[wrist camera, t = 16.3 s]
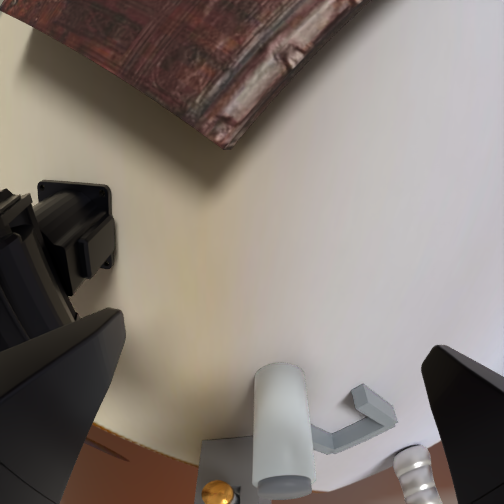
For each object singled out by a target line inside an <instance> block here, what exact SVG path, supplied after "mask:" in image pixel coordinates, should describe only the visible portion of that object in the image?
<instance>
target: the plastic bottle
mask: <svg viewBox="0 0 504 504" xmlns="http://www.w3.org/2000/svg"><path fill="white" fill-rule="evenodd" d="M393 468H394V471H395V473H396V475H397V477H398V478H399V481H400V484H401V487H402V490H403V493H404V498H405V504H443V503H442V502H441V499H440V497H439V495H438V492H437V489H436V487H435V483H434V479H433V474H432V469H431V458H430V453H429V452H428V450H427V448H426V447H424V446H422V445H418V446H413V447H410V448H408V449H405V450H403V451H401V452H400V453H398V454H397V455H396V456H395V458H394V460H393Z"/></svg>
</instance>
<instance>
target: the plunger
mask: <svg viewBox="0 0 504 504" xmlns="http://www.w3.org/2000/svg"><path fill="white" fill-rule="evenodd" d="M201 496H202V500H203V501H204V503H205V504H240V495H239V494H237V493H235V492H234V490H233V488H232V487H231V486H230V485H229V484H227V483H226V482H224V481H221V480H214V481H211V482H209V483H208V484H206V485H205V486H204V488H203V490H202V493H201Z"/></svg>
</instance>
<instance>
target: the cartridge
mask: <svg viewBox="0 0 504 504" xmlns="http://www.w3.org/2000/svg"><path fill="white" fill-rule="evenodd" d="M315 481H316V472H315V462H314V452H313V443H312V433H311V424H310V416H309V407H308V399H307V391H306V383H305V375H304V372H303V370H302V369H301V368H300V367H298V366H296V365H294V364H290V363H273V364H269V365H266V366H264V367H262V368H261V369H260V370H258V372H257V373H256V375H255V383H254V431H253V475H252V484H253V485H254V486H255V487H257V488H258V496H259V497H261V498H265V499H273V500H286V499H295V498H299V497H303V496H306V495H308V494H310V493H311V492H312V488H311V484H313V483H314V482H315Z"/></svg>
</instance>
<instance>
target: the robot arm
mask: <svg viewBox="0 0 504 504" xmlns="http://www.w3.org/2000/svg"><path fill="white" fill-rule="evenodd" d="M43 186H44V188H43ZM37 189H38V200H39V203H38V204H36V205H35V206H33V207H32V204H31V203H32V198H31V195H30V193H28V194H25V195H22V196H21V195H20V194H19V195H16V196H15V194H14V195H13V194H12V193H11V192H10V191H9V190H8V189H7V188H6V189H3V190H1V191H0V504H59V503H60V501H61V498H62V495H63V493H64V490H65V488H66V485H67V482H68V480H69V477H70V475H71V472H72V470H73V467H74V465H75V462H76V460H77V458H78V455H79V453H80V450H81V448H82V446H83V443H84V441H85V439H86V436H87V434H88V432H89V430H90V427H91V425H92V423H93V421H94V418H95V416H96V414H97V412H98V410H99V408H100V405H101V403H102V401H103V399H104V397H105V395H106V393H107V390H108V388H109V386H110V384H111V381H112V378H113V375H114V372H115V369H116V366H117V363H118V360H119V357H120V354H121V351H122V349H123V346H124V343H125V338H126V331H125V324H124V317H123V313H122V311H121V310H118V309H114V308H106V309H103V310H101V311H98V312H96V313H93V314H91V315H89V316H86V317H84V318H81V319H80V317H79V315H78V313H76V312H75V310H74V308H73V306H72V304H71V302H70V300H69V298H68V296H73V295H74V293H75V292H76V291H77V289H78V288H79V287H80V285H81V284H82V283H83V281H84V280H85V279H91V278H92V277H93V276H94V274H95V273H96V272H97V271H98V269H99V268H104V269H110V268H111V267H112V266H113V264H114V255H113V250H114V249H115V237H114V218H113V216H112V215H111V191H110V188H109V187H108V186H107V185H103V184H92V183H80V182H68V181H54V180H42V181H40V182H39V183H38V186H37ZM102 190H104V192H105V195H103V194H102V192H101V191H102ZM105 260H106V261H108V262H109V264H108V263H107V262H106V261H105ZM421 372H422V376H423V380H424V383H425V387H426V391H427V395H428V399H429V403H430V407H431V410H432V413H433V416H434V419H435V422H436V425H437V428H438V431H439V435H440V438H441V441H442V444H443V448H444V451H445V454H446V458H447V461H448V465H449V469H450V472H451V476H452V480H453V484H454V488H455V492H456V497H457V501H458V504H504V377H503V376H501V375H499V374H498V373H496V372H494V371H492V370H490V369H489V368H487V367H485V366H483V365H481V364H479V363H478V362H476V361H474V360H472V359H470V358H469V357H467V356H465V355H463V354H461V353H459V352H458V351H456V350H454V349H452V348H450V347H448V346H446V345H435V346H434V347H433V348H432V350H431V351H430V353H429V354H428V356H427V357H426V359H425V360H424V361H423V363H422V367H421Z"/></svg>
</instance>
